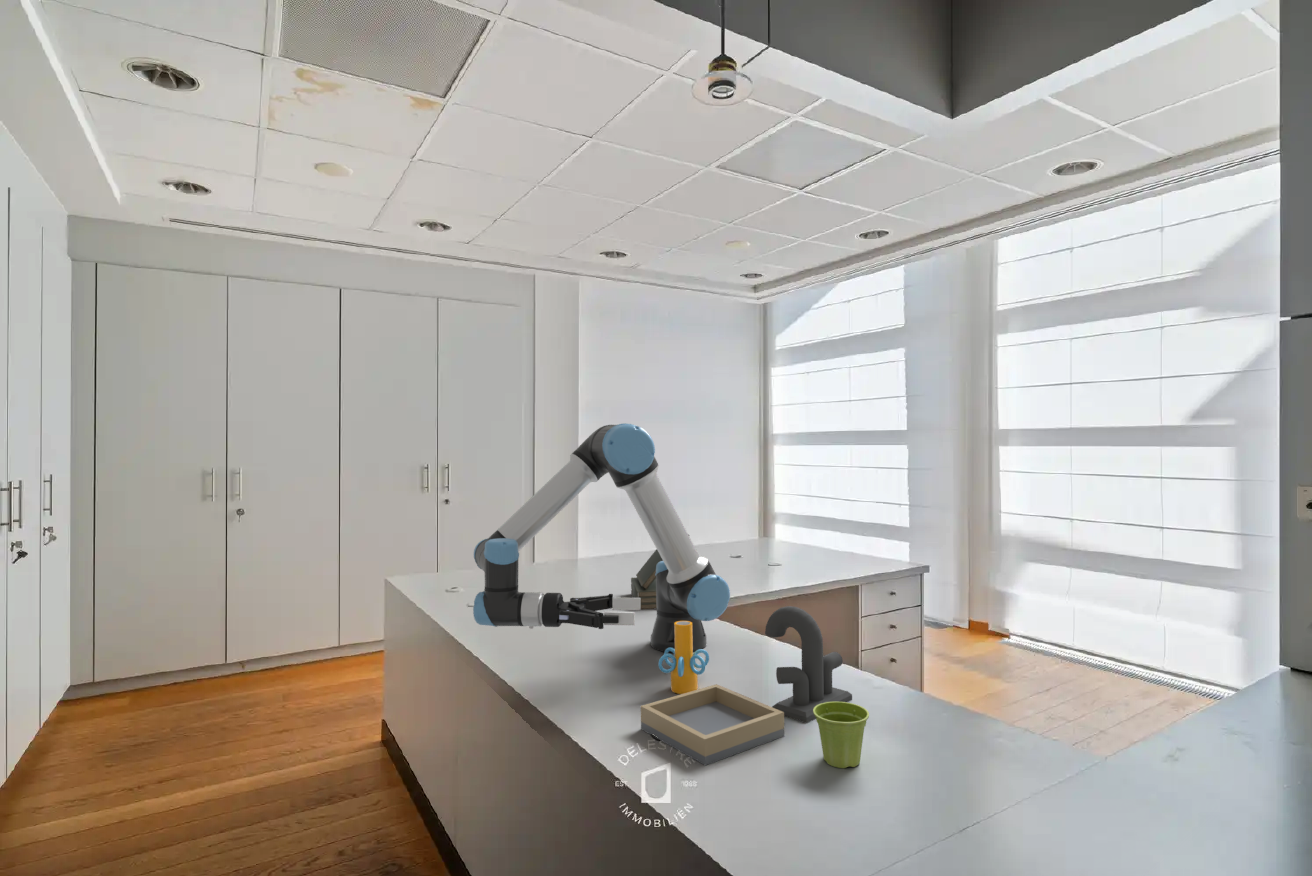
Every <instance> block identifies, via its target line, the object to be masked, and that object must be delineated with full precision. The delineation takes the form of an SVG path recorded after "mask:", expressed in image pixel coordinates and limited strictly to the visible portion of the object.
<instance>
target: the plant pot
mask: <svg viewBox="0 0 1312 876" xmlns="http://www.w3.org/2000/svg"><path fill="white" fill-rule="evenodd" d="M813 713H814V715H815V716H816V720H815V721H816V722H817V726H818V731H819V737H820V742H821V743H820V744H821V749H822V750H821V751H822V756H823V760H824V761H825V762H826V763H827V765H829V766H831V767H834V768H838V769H847V768H850V767H852V768H855V767H857V766H859V765H860V762H861V755H862V748H863V742H864V741H863V740H864V732H865V727H866V726H867V721H868V719H869V718H870V713H869V710H868V709H866V708H865V707H864V706H861V705H858V704H856V703H852V702H849V701H848V702H825V703H821V704H818V705H817V706H815V707H814V709H813Z"/></svg>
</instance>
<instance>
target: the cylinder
mask: <svg viewBox="0 0 1312 876" xmlns="http://www.w3.org/2000/svg"><path fill="white" fill-rule="evenodd" d="M674 632H675V649H673V648H667V649H666V650H665V651H663V652H664V653H663V655H662V656H661V657H660V658H659V660H658V663H657V665H658V668H659V670H660V671H661V672H662V673H664V674H670V690H671V692H672V693H675V694H677V695H681V694H684V693H688V692H691V691H694V690H698V689H699V686H698V685H699V683H698V680H699V679H698V678H699V676H700V675H702V674H704V672H705V670H706V666H708V663H709V661H710V655H709V652H708V651H707V650H705V649H704V648H702V649H699V650H696V651H693V635H692V622H690V621H677V622H675V623H674ZM669 651H671V652H669ZM671 653H673V654H671ZM698 654H704V656H705V659H704V658H703V657H702V656H700V655H698ZM669 658H670V659H671V660H672V662H671V661H670V660H669ZM696 659H697V660H699V662H700V664H698V663H697V662H696ZM663 661H665V663H666V664H667V666H669V667H670V668H668V669H667V668H664V667H663ZM697 669H700V670H697ZM698 675H699V676H698Z"/></svg>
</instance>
